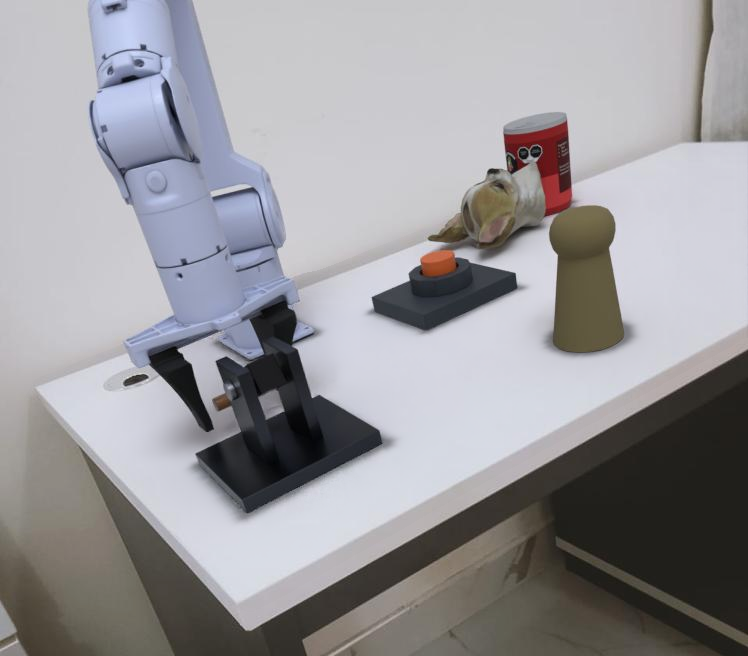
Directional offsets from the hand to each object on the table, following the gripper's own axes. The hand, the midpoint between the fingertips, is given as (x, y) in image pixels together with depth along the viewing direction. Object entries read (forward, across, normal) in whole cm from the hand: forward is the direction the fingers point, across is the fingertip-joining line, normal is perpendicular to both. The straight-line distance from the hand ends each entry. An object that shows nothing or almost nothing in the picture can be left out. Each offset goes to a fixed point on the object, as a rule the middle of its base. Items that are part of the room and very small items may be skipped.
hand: (246, 409), depth 65 cm
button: (-1, +27, +8) cm, 28 cm away
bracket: (+2, 0, -7) cm, 8 cm away
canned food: (+2, +54, +22) cm, 58 cm away
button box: (+2, +27, +8) cm, 28 cm away
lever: (-3, 0, -5) cm, 5 cm away
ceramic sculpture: (+2, +43, +18) cm, 46 cm away
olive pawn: (+2, +28, -12) cm, 31 cm away
